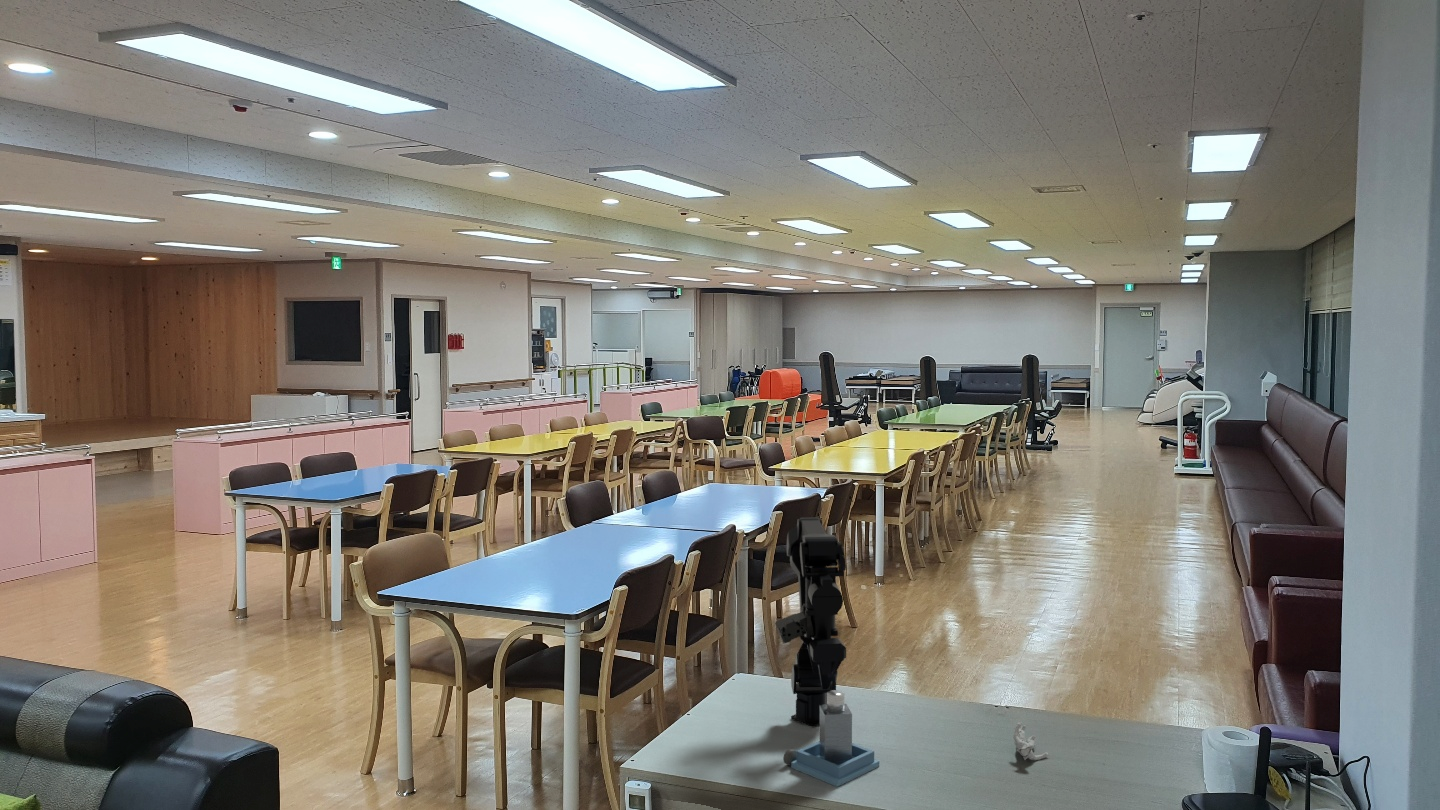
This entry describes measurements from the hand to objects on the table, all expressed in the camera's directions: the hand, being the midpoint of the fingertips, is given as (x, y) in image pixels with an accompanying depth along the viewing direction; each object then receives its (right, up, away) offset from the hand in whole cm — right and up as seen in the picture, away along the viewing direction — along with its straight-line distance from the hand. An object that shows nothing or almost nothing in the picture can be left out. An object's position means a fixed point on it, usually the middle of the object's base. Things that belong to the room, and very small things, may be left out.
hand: (820, 680), depth 200 cm
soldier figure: (+39, -13, -2) cm, 41 cm away
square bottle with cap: (+2, -13, -8) cm, 15 cm away
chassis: (+2, -14, -8) cm, 16 cm away
